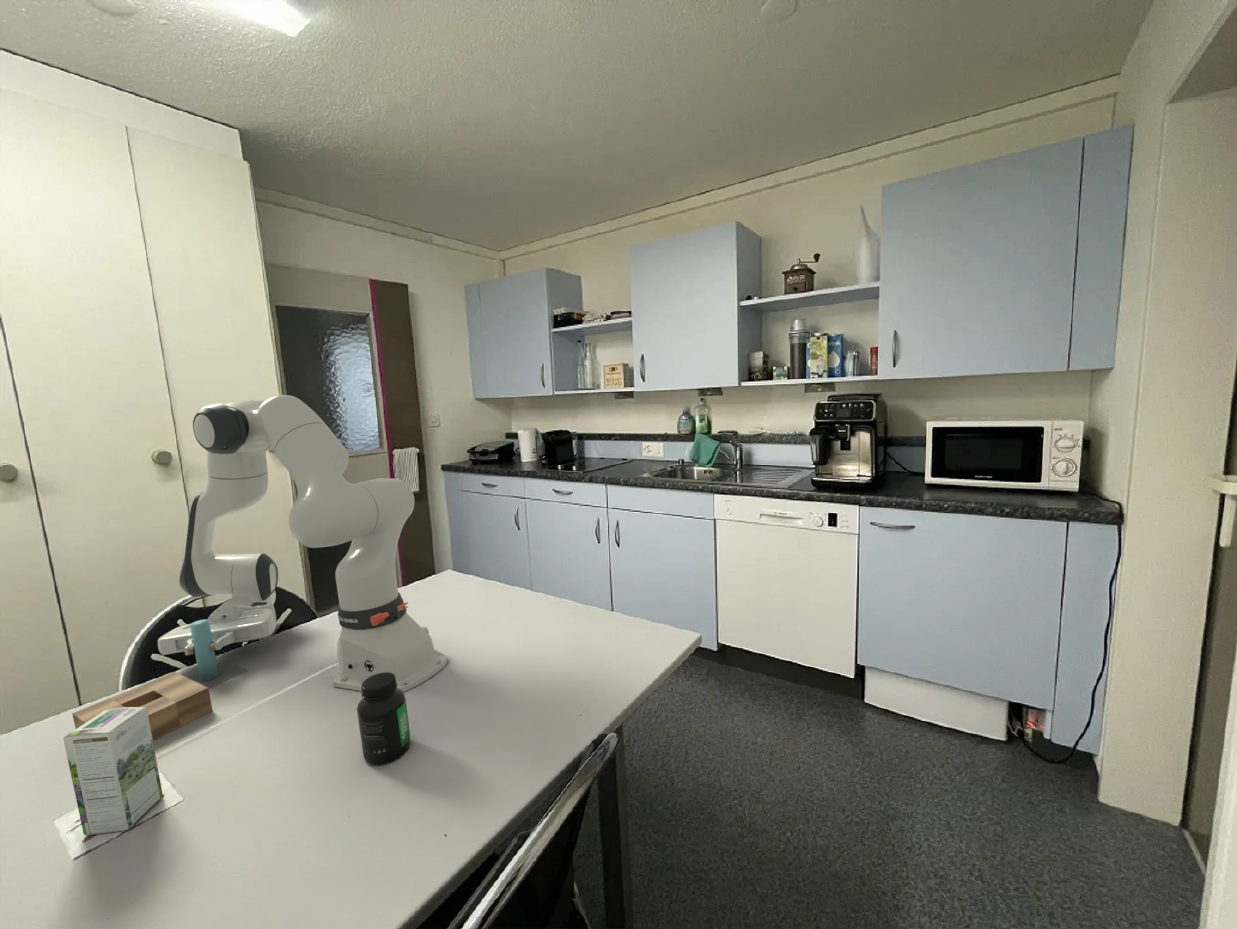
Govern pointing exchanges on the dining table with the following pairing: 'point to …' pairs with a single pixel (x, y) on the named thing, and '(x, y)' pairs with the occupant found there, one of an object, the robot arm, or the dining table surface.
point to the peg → (204, 650)
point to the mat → (220, 674)
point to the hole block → (158, 703)
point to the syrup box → (113, 769)
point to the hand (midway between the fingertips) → (201, 649)
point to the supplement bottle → (383, 720)
